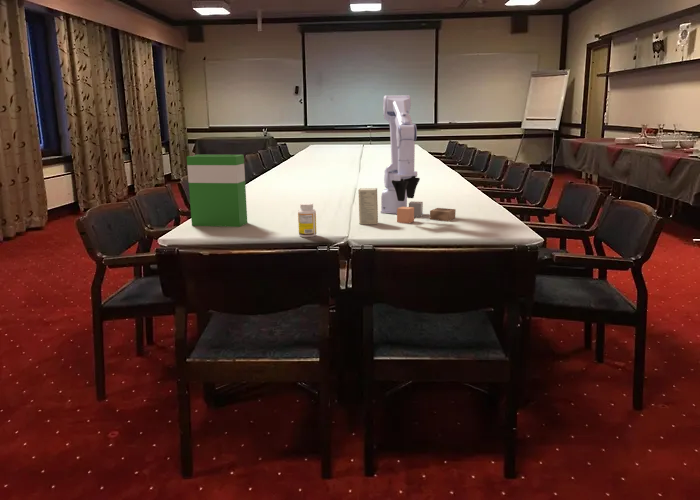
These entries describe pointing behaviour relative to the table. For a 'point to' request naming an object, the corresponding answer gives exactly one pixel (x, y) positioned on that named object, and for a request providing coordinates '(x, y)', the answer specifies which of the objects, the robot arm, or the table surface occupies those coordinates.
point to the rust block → (405, 214)
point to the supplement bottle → (307, 220)
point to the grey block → (417, 208)
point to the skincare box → (368, 206)
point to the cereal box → (217, 190)
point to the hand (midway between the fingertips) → (405, 199)
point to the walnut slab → (442, 214)
